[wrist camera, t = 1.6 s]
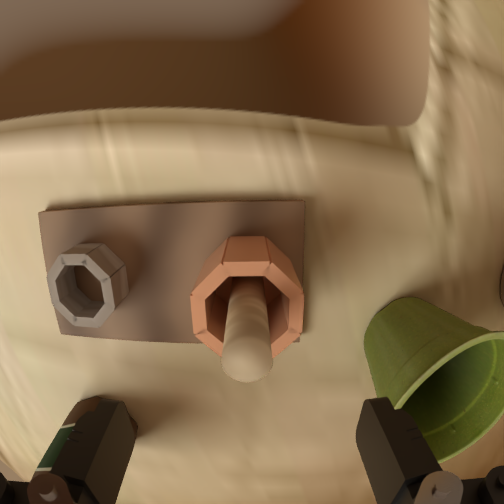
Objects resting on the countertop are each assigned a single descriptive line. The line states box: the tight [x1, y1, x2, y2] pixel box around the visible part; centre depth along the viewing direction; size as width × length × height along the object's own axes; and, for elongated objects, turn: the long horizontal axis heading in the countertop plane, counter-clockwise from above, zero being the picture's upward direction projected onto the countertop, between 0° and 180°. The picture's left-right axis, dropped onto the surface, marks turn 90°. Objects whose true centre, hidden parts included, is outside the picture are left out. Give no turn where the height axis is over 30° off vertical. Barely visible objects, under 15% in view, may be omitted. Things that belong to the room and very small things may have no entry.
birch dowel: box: [221, 276, 273, 382], centre depth 18 cm, size 2×2×10 cm
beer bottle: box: [32, 396, 138, 479], centre depth 17 cm, size 8×8×24 cm
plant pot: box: [364, 297, 504, 463], centre depth 21 cm, size 12×12×11 cm
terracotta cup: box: [190, 236, 304, 359], centre depth 21 cm, size 6×6×6 cm
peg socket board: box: [38, 200, 305, 343], centre depth 23 cm, size 21×11×4 cm, turn 91°
